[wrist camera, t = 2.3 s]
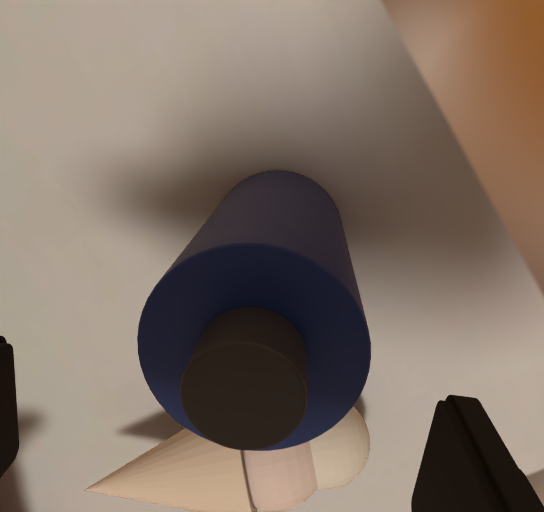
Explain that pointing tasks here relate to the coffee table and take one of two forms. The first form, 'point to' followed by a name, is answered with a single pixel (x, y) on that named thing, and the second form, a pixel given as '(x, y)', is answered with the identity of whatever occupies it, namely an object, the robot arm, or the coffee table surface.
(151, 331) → the water bottle
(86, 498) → the coffee table surface
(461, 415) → the robot arm
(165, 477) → the ice cream cone
